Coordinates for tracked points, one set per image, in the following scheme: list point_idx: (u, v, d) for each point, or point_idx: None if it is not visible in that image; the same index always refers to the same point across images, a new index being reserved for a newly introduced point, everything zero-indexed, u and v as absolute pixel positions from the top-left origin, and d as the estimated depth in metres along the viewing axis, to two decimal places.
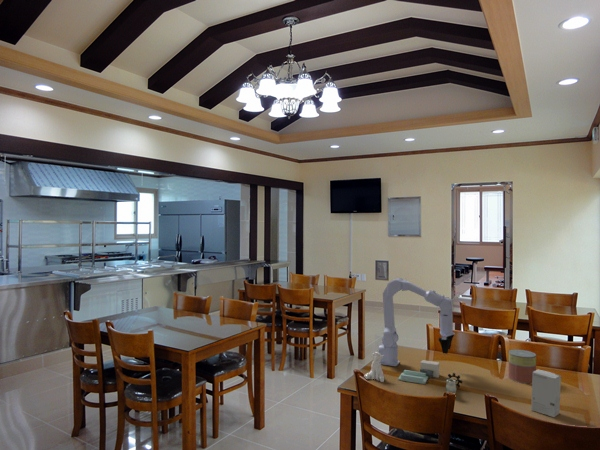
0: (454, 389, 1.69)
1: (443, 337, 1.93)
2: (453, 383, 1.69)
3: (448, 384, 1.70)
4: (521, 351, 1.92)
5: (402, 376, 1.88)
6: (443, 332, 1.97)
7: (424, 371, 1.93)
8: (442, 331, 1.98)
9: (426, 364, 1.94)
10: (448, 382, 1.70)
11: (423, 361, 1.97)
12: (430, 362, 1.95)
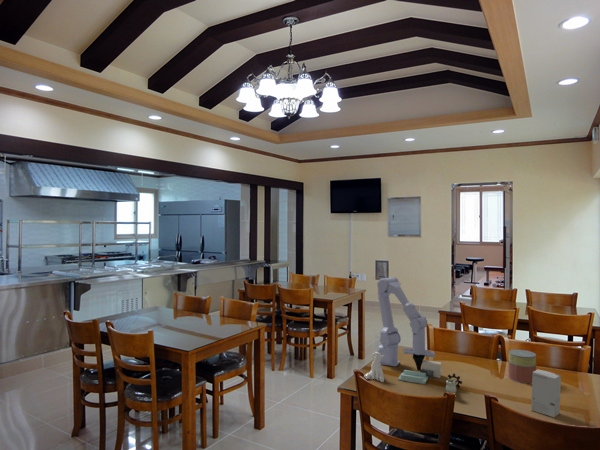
0: (454, 390, 1.68)
1: None
2: (453, 384, 1.69)
3: (448, 385, 1.69)
4: (521, 351, 1.92)
5: (402, 376, 1.88)
6: None
7: (424, 371, 1.93)
8: None
9: (428, 364, 1.94)
10: (448, 383, 1.69)
11: (425, 361, 1.96)
12: (432, 362, 1.95)
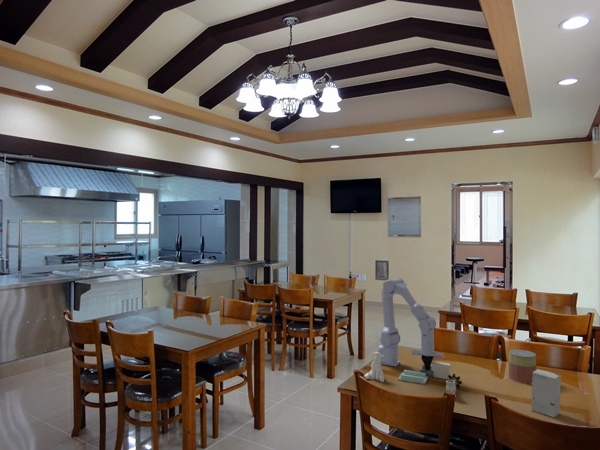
0: (454, 390, 1.68)
1: None
2: (453, 384, 1.68)
3: (448, 385, 1.69)
4: (521, 351, 1.92)
5: (402, 376, 1.88)
6: None
7: (424, 371, 1.93)
8: None
9: (437, 365, 1.92)
10: (448, 383, 1.69)
11: (434, 362, 1.94)
12: (441, 363, 1.93)
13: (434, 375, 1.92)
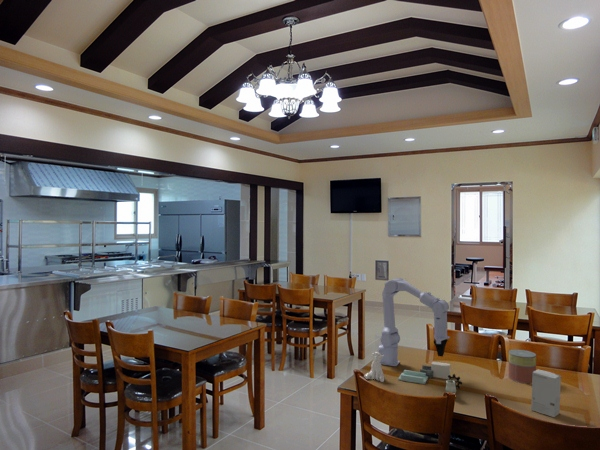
0: (454, 390, 1.68)
1: (437, 341, 1.86)
2: (453, 384, 1.68)
3: (448, 385, 1.69)
4: (521, 351, 1.92)
5: (402, 376, 1.88)
6: (437, 336, 1.91)
7: (424, 371, 1.93)
8: (436, 335, 1.91)
9: (437, 366, 1.92)
10: (448, 383, 1.69)
11: (434, 362, 1.94)
12: (441, 364, 1.93)
13: (434, 375, 1.92)
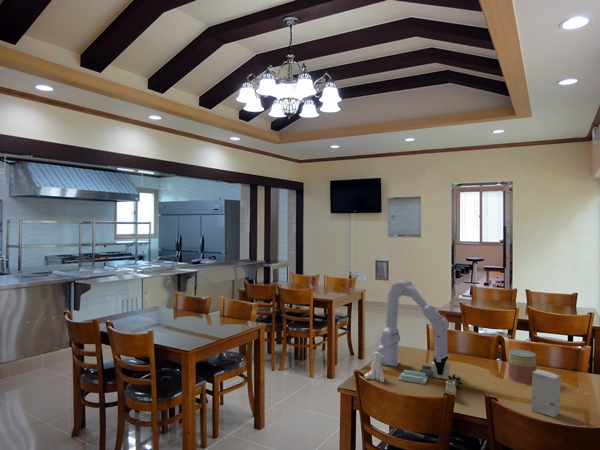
0: (453, 391, 1.67)
1: (438, 359, 1.86)
2: (452, 385, 1.68)
3: (447, 386, 1.68)
4: (521, 351, 1.92)
5: (402, 376, 1.88)
6: (437, 354, 1.91)
7: (424, 371, 1.93)
8: (436, 353, 1.91)
9: None
10: (447, 384, 1.68)
11: None
12: None
13: (434, 375, 1.92)
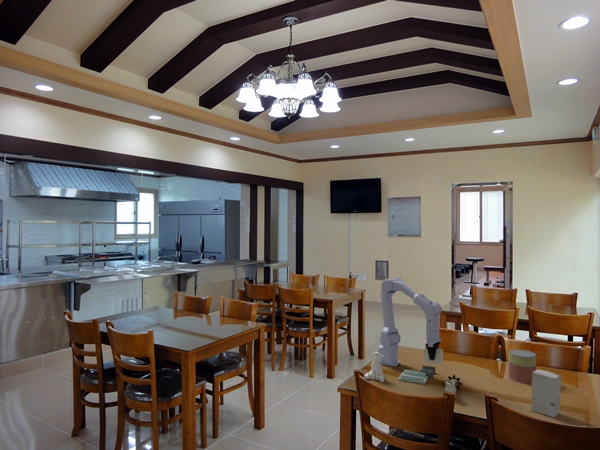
0: (453, 391, 1.67)
1: (429, 344, 1.86)
2: (452, 385, 1.67)
3: (447, 386, 1.68)
4: (521, 351, 1.92)
5: (402, 376, 1.88)
6: (429, 339, 1.90)
7: (424, 371, 1.93)
8: (428, 338, 1.90)
9: None
10: (447, 384, 1.68)
11: (426, 348, 1.93)
12: None
13: (426, 361, 1.91)
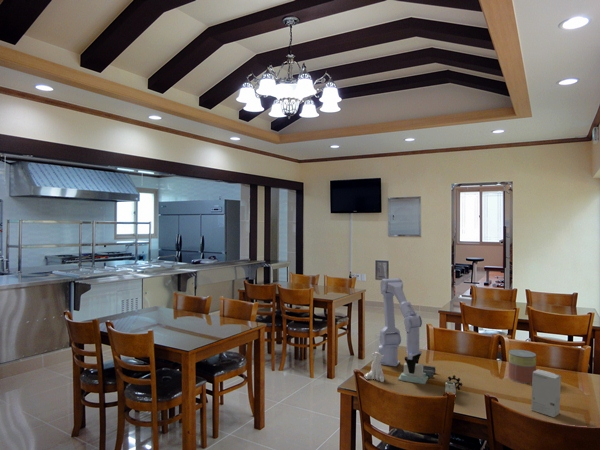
0: (453, 392, 1.66)
1: (409, 357, 1.83)
2: (452, 386, 1.66)
3: (447, 387, 1.67)
4: (521, 351, 1.92)
5: (402, 376, 1.88)
6: (409, 351, 1.88)
7: (424, 371, 1.93)
8: (408, 350, 1.88)
9: None
10: (447, 385, 1.67)
11: None
12: None
13: None
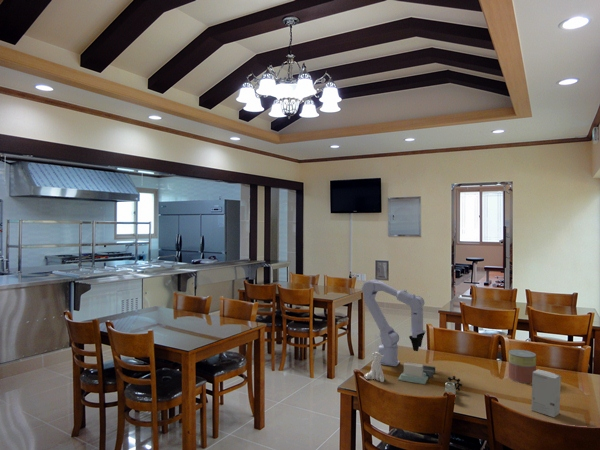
0: (453, 392, 1.66)
1: (413, 335, 1.97)
2: (452, 386, 1.66)
3: (447, 387, 1.67)
4: (521, 351, 1.92)
5: (402, 376, 1.88)
6: (414, 330, 2.02)
7: (424, 371, 1.93)
8: (413, 329, 2.02)
9: (409, 366, 1.89)
10: (447, 385, 1.67)
11: (407, 363, 1.91)
12: (414, 364, 1.90)
13: None
